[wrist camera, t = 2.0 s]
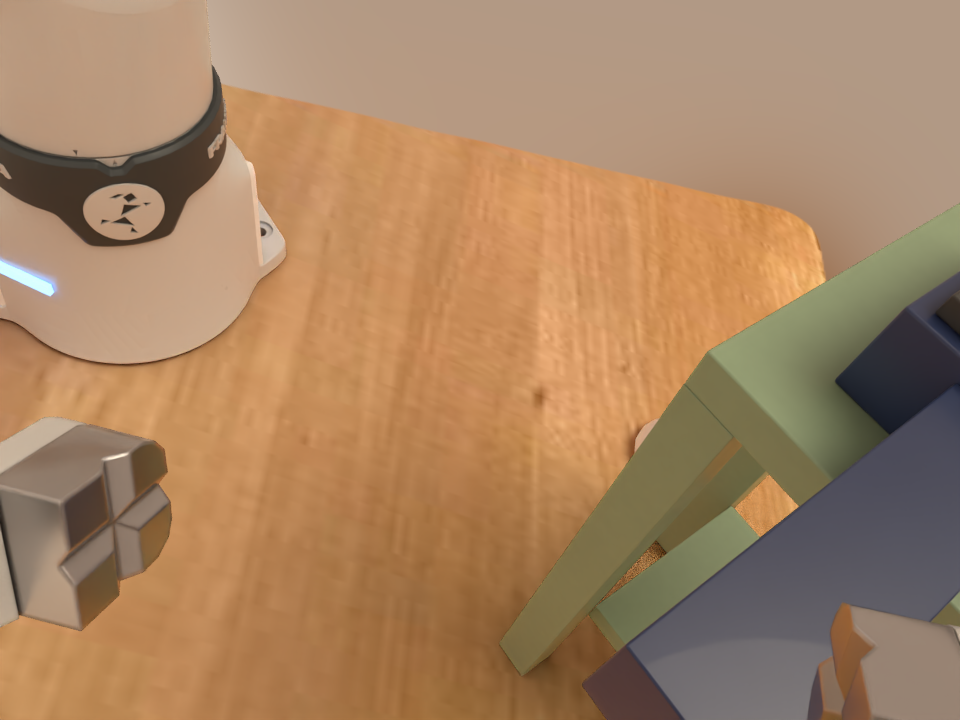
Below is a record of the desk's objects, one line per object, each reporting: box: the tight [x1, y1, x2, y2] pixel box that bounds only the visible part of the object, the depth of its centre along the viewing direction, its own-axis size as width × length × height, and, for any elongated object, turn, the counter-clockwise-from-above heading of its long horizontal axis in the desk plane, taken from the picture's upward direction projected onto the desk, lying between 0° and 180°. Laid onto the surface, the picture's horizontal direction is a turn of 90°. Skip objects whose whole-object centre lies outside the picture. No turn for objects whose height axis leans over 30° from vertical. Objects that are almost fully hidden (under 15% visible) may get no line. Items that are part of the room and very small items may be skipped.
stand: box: [499, 203, 960, 676], centre depth 33 cm, size 14×12×26 cm
